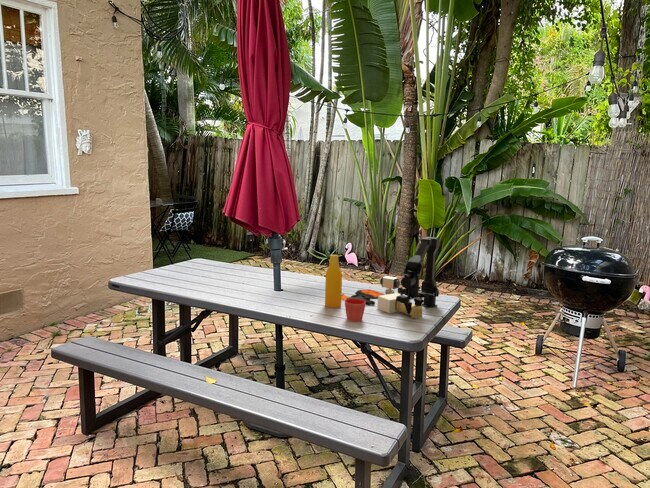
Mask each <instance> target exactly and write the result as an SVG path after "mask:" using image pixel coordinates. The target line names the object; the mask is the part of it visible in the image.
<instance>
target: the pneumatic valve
mask: <svg viewBox="0 0 650 488" xmlns="http://www.w3.org/2000/svg"><path fill="white" fill-rule="evenodd" d="M379 281H380V282H379V284H380V285H381V288H385V292H384V294H385V295H387V294H393V293H395V291H394V290H397V289H398V288H400V287H401V286H400V285H401V280H399V277H393V276H392V275H389V276H387V275H385V276H382V277H381V278H380V280H379Z"/></svg>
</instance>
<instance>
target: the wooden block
mask: <svg viewBox="0 0 650 488" xmlns="http://www.w3.org/2000/svg"><path fill="white" fill-rule="evenodd" d="M423 306H424V305H419V306H418V305H415V303H413V302H412V306H411V310H410V314H407V311H406V307H405V305H404V303H400V302H398V301H395V310H398V312H400V313H404V314H406V315H408V316H410V319H413V320H416V319H420V318H423V309H424V308H423Z"/></svg>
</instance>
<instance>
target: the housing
mask: <svg viewBox="0 0 650 488" xmlns="http://www.w3.org/2000/svg"><path fill="white" fill-rule="evenodd" d="M403 295H404V294H403ZM397 296H400V294H398V292H394V293H393V294H387V295H386V294H385V295H381V296H378V299H377V309H378V310H381V311H383V312H386V313H387V314H391V313H392V314H393V313H398V312H399V311H398V310H395V301H396V297H397ZM404 296H406V295H404Z"/></svg>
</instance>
